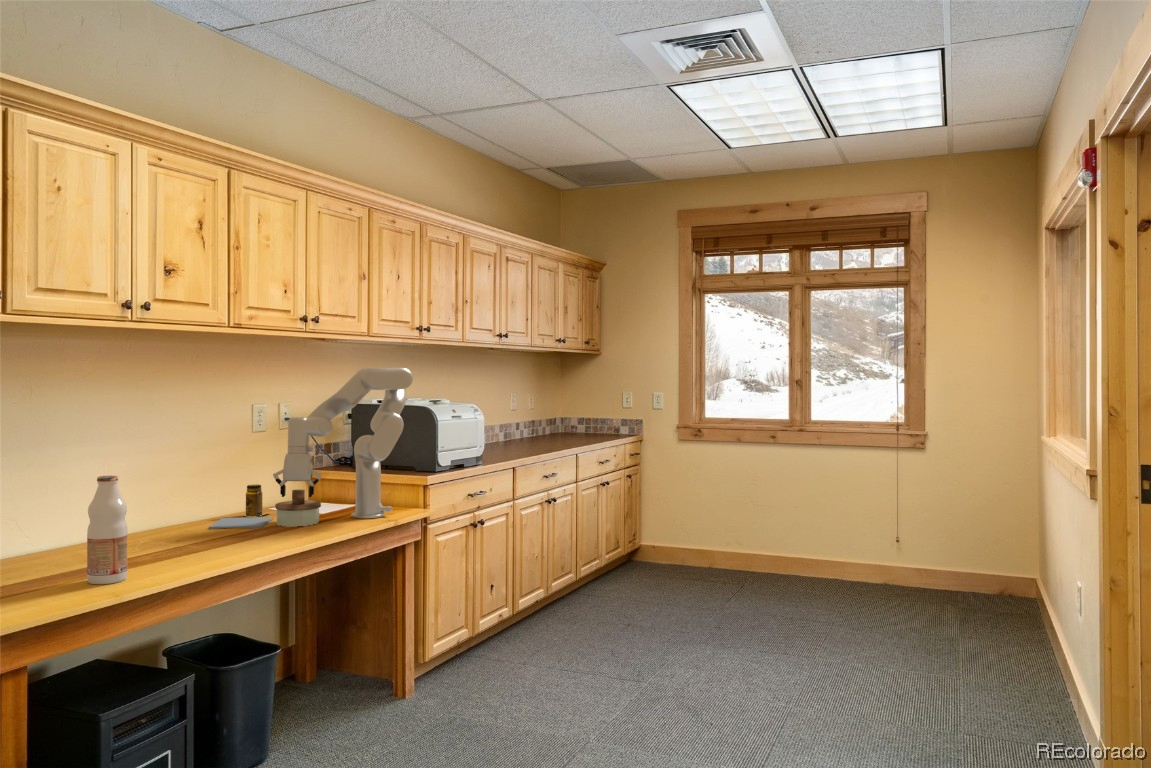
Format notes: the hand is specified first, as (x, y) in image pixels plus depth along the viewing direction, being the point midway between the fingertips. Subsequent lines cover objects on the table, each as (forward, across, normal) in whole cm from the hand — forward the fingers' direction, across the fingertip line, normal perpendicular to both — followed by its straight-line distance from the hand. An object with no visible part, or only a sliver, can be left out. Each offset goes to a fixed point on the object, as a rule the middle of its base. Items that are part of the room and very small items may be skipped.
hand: (297, 496), depth 308 cm
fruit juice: (+12, +34, +81) cm, 88 cm away
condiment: (+10, +18, -18) cm, 28 cm away
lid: (+4, 0, 0) cm, 4 cm away
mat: (+10, +19, 0) cm, 22 cm away
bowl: (+10, -1, 0) cm, 10 cm away
